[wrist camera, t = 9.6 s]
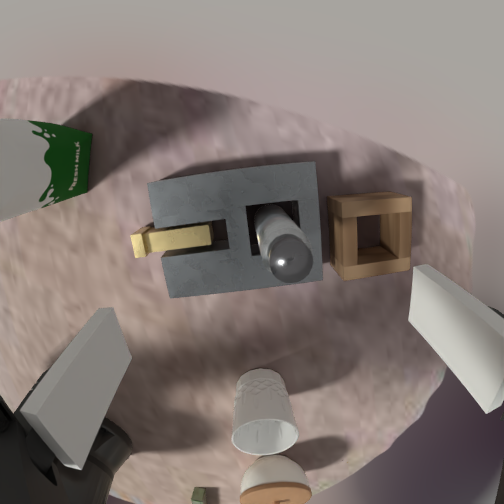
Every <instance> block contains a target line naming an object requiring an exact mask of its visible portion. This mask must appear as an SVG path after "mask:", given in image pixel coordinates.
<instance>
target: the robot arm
mask: <svg viewBox="0 0 504 504" xmlns="http://www.w3.org/2000/svg"><path fill="white" fill-rule="evenodd" d="M408 321H409V322H410V323H411V324H412V325H413V326H414V327H415V329H416V330H417V331H418V332H419V333H420V334H421V335H422V336H423V337H424V339H425V340H426V341H427V342H428V343H429V344H430V345H431V347H432V348H433V349H434V350H435V351H436V352H437V354H438V355H439V356H440V357H441V358H442V359H443V361H444V362H445V363H446V364H447V365H448V367H449V368H450V369H451V370H452V371H453V373H454V374H455V375H456V376H457V377H458V379H459V380H460V381H461V382H462V384H463V385H464V386H465V387H466V388H467V390H468V391H469V392H470V394H471V395H472V396H473V397H474V399H475V400H476V401H477V403H478V404H479V405H480V406H481V408H482V409H483V410H484V411H485V413H486V414H487V413H489V412H491V411H492V410H494V409H496V408H497V407H499V406H501V404H502V402H503V400H504V315H503V314H502V313H501V312H499V311H498V310H496V309H494V308H491V307H489V306H486V305H485V304H484V303H482V302H481V301H480V300H478V299H477V298H476V297H474V296H473V295H472V294H470V293H469V292H467V291H466V290H465V289H463V288H462V287H460V286H459V285H458V284H456V283H455V282H453V281H452V280H450V279H449V278H447V277H446V276H445V275H443V274H442V273H440V272H439V271H437V270H436V269H434V268H433V267H431V266H430V265H428V264H424V265H419V266H414V268H413V282H412V293H411V302H410V311H409V319H408ZM131 360H132V356H131V354H130V352H129V349H128V347H127V344H126V341H125V339H124V336H123V334H122V331H121V328H120V326H119V323H118V320H117V317H116V314H115V311H114V308H113V307H111V308H99V309H98V310H97V311H96V312H95V314H94V315H93V316H92V317H91V318H90V320H89V321H88V322H87V323H86V324H85V325H84V327H83V328H82V329H81V330H80V332H79V333H78V334H77V335H76V336H75V338H74V339H73V340H72V341H71V343H70V344H69V345H68V346H67V348H66V349H65V350H64V351H63V353H62V354H61V355H60V356H59V358H58V359H57V360H56V362H55V363H54V364H53V365H52V367H50V368H49V369H48V370H47V371H45V372H44V373H43V374H42V375H41V376H40V378H39V379H38V380H37V384H34V386H33V387H32V388H31V389H32V390H31V391H29V393H28V394H27V395H26V397H25V398H24V399H23V401H22V402H21V404H20V405H19V407H18V408H17V409H16V411H15V412H14V414H13V413H12V411H11V410H10V408H9V407H8V406H7V404H6V403H5V401H4V400H3V398H2V397H1V396H0V504H106V501H107V498H108V494H109V491H110V487H111V484H112V481H113V477H114V475H115V473H116V472H117V471H118V469H119V468H120V467H121V466H122V465H123V463H124V462H125V461H126V460H127V459H128V458H129V456H130V454H131V451H132V442H131V440H130V438H129V437H128V435H127V434H126V433H125V432H124V431H123V430H122V429H121V428H120V427H119V426H117V425H116V424H115V423H113V422H112V421H110V420H109V419H107V418H105V415H106V412H107V410H108V408H109V406H110V404H111V401H112V399H113V397H114V395H115V393H116V391H117V389H118V386H119V384H120V382H121V380H122V378H123V376H124V374H125V372H126V370H127V368H128V366H129V364H130V362H131ZM503 419H504V412H503V414H502V416H501V419H500V420H501V421H502V420H503ZM495 504H504V460H503V467H502V472H501V478H500V483H499V487H498V492H497V496H496V500H495Z"/></svg>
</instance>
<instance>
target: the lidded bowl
mask: <svg viewBox="0 0 504 504" xmlns="http://www.w3.org/2000/svg"><path fill="white" fill-rule="evenodd" d="M240 493H241V495H240V503H241V504H304V503H306V502H307V501H308V500H309V499H310V498H311V496H312V493H311V489H310V487H309V483H308V479H307V476H306V474H305V472H304V470H303V469H302V468H301V467H300V466H299V465H298V464H297V463H296V462H294V461H292V460H290V459H289V458H288V457H286V456H283V455H268V456H264V457H261V458H259V459H257V460H256V461H255V462H254V463H253V464H252V465H251V466H250V467H249V468H248V469H247V470H246V471H245V473H244V475H243V478H242V482H241V492H240Z"/></svg>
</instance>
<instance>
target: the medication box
mask: <svg viewBox="0 0 504 504" xmlns="http://www.w3.org/2000/svg"><path fill="white" fill-rule="evenodd" d="M191 501H192V504H207V500H206V488H200V487H195V488H194V491H193V495H192V498H191Z"/></svg>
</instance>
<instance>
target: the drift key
mask: <svg viewBox="0 0 504 504" xmlns="http://www.w3.org/2000/svg"><path fill="white" fill-rule="evenodd" d="M213 239H214V234H213V227H212V221H205V222H198V223H191V224H184V225H177V226H170V227H163V228H157V229H155V227H153V228H152V227H151V226H148V227H142V228H140V229H139V230H137V231H136V232H135V233H133V234H132V235H131V240H132V244H133V249H134V253H135V258H139V257H146V256H147V255H148V254H149V253H150V252H158V251H166V250H173V249H181V248H188V247H196V246H204V245H211V244H212V241H213Z"/></svg>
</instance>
